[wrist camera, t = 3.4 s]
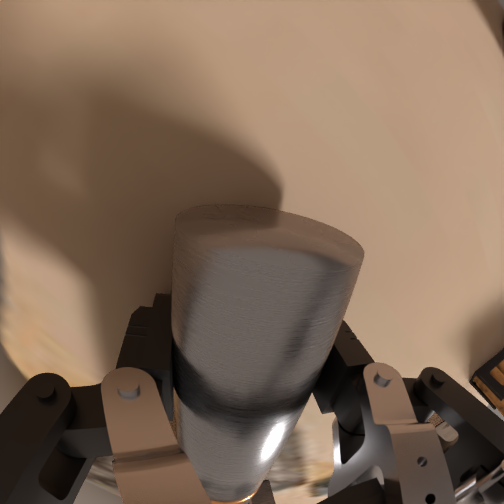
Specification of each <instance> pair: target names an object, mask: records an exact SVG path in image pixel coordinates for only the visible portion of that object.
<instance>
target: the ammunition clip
mask: <svg viewBox="0 0 504 504" xmlns="http://www.w3.org/2000/svg"><path fill="white" fill-rule="evenodd" d="M469 383H470V384H471V385H472V386H473V387H474V388H475V389H476V390H477V391H478V392H479V393H480V395H481V396H482V397H483V398H484V399H485V400H486V401H487V402H488V403H489V404H490V405H491V406H492V408H493V409H496V408H497V409H498V410H499V411H500V412H501V414H502V415H503V416H504V348H503V349H502V350H501V351H500V352H499V353H498V354H497V355H495V356H494V357H493V358H492V359H491V360H489V361H488V362H487V363H486V364H484V365H483V366H482V367H481V368H479V369H478V370H477V371H475V373H474V375H473V377H472V379H471V380H470V382H469Z"/></svg>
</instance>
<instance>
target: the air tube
mask: <svg viewBox="0 0 504 504" xmlns="http://www.w3.org/2000/svg"><path fill="white" fill-rule="evenodd" d="M363 258H364V250H363V248H362V247H361V245H360V244H359V243H358V242H357V241H356V240H354V239H353V238H352V237H350V236H349V235H347V234H345V233H344V232H342V231H340V230H338V229H336V228H334V227H331V226H329V225H326V224H324V223H321V222H319V221H316V220H313V219H310V218H306V217H303V216H300V215H296V214H292V213H287V212H283V211H278V210H273V209H267V208H260V207H252V206H241V205H208V206H200V207H195V208H191V209H188V210H185V211H183V212H181V213H180V214H179V215H178V216H177V218H176V221H175V235H174V251H173V272H172V312H171V327H172V336H173V379H174V411H175V424H176V435H177V442H178V445H179V447H180V448H181V450H183V451H184V452H185V453H186V455H187V456H188V458H189V460H190V462H191V464H192V466H193V468H194V470H195V472H196V474H197V476H198V478H199V480H200V482H201V484H202V486H203V488H204V490H205V492H206V493H207V495H208V497H209V499H210V501H211V502H212V504H248V503H249V501H250V500H251V498H252V497H253V496H254V495H255V493H256V492H257V490H258V489H259V487H260V486H261V484H262V482H263V480H264V479H265V477H266V476H267V474H268V472H269V471H270V469H271V467H272V466H273V464H274V462H275V461H276V459H277V457H278V456H279V454H280V452H281V451H282V449H283V447H284V445H285V444H286V442H287V440H288V438H289V436H290V434H291V433H292V431H293V429H294V427H295V425H296V423H297V421H298V419H299V417H300V416H301V414H302V412H303V410H304V408H305V406H306V404H307V402H308V399H309V397H310V395H311V393H312V391H313V389H314V387H315V385H316V383H317V380H318V378H319V376H320V374H321V372H322V369H323V367H324V365H325V362H326V360H327V358H328V355H329V353H330V351H331V348H332V346H333V343H334V341H335V338H336V336H337V333H338V331H339V328H340V326H341V323H342V320H343V318H344V315H345V312H346V309H347V307H348V304H349V301H350V298H351V295H352V292H353V290H354V287H355V284H356V281H357V277H358V274H359V271H360V268H361V265H362V262H363Z"/></svg>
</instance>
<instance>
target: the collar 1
mask: <svg viewBox="0 0 504 504" xmlns="http://www.w3.org/2000/svg"><path fill="white" fill-rule="evenodd" d="M249 504H275V500H274V497H273V493H272V489H271V486H270V482H269V481H263V482H262V484H261V486H260V487H259V489H258V490H257V492H256V493H255V495H254V496H253V497H252V498H251V500H250V501H249Z"/></svg>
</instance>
